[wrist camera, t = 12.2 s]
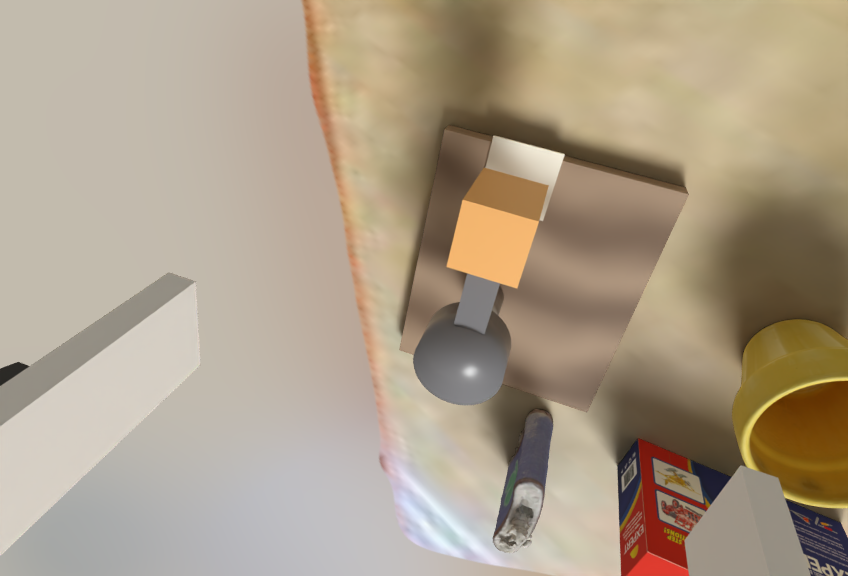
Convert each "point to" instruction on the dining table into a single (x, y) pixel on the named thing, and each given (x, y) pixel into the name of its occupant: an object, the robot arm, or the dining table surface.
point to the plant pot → (796, 410)
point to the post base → (551, 260)
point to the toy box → (696, 515)
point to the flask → (524, 484)
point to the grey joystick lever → (480, 289)
